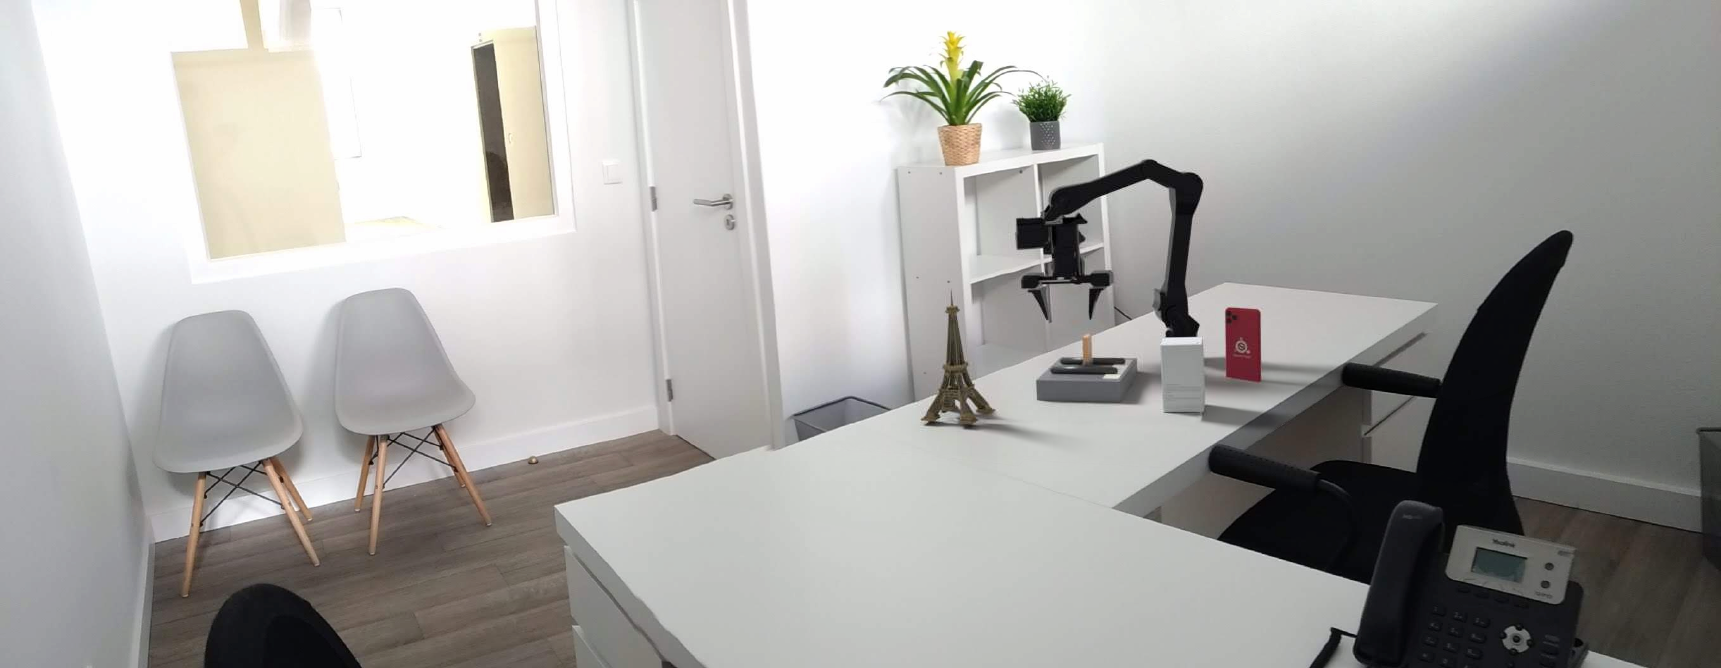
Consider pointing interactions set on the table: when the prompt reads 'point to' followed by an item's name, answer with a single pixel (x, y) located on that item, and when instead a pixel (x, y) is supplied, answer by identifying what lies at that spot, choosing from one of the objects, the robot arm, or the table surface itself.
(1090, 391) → the breaker panel
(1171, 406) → the supplement box
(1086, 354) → the breaker lever
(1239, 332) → the smartphone
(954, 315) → the eiffel tower
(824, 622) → the table surface
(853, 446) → the table surface
